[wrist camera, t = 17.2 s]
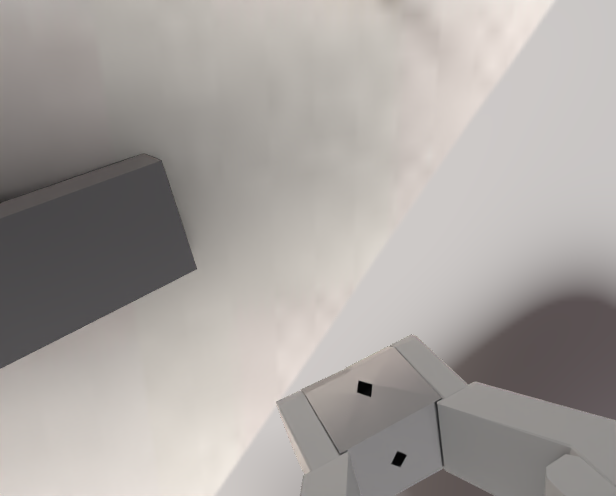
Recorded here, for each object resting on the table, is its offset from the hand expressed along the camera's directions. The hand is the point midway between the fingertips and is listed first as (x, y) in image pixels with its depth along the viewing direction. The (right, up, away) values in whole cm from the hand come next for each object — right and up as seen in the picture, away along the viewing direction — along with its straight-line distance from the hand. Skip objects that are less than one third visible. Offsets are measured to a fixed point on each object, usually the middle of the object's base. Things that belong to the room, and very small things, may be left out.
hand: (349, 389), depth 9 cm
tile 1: (-7, +4, +11) cm, 13 cm away
